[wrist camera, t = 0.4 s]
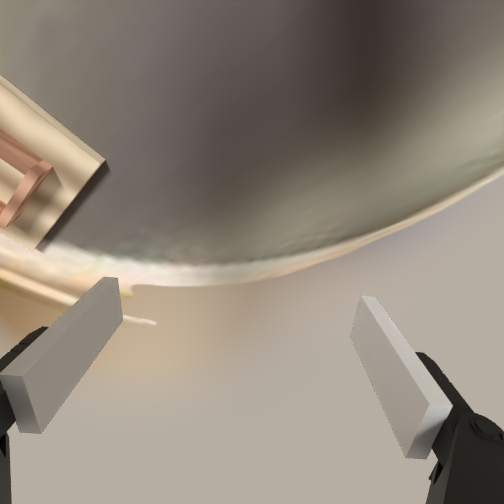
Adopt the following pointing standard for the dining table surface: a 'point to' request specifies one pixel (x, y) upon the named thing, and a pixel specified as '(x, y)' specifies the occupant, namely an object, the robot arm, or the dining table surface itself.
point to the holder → (37, 168)
